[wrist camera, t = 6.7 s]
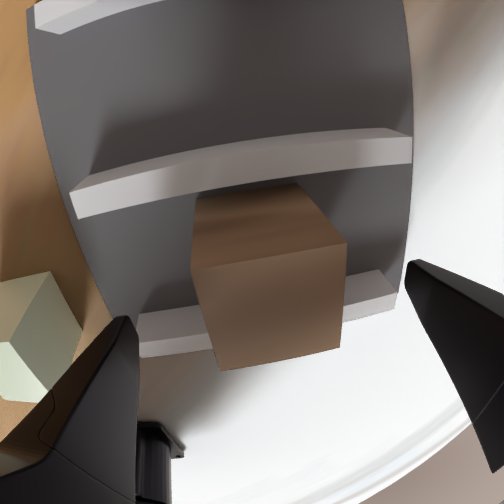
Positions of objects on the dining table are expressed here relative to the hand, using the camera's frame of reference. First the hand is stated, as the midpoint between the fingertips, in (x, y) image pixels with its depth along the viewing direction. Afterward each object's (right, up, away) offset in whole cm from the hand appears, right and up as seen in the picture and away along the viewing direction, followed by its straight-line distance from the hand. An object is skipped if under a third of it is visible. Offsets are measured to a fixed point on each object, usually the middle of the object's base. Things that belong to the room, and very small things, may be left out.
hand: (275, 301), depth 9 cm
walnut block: (-1, +2, +4) cm, 4 cm away
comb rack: (-1, +5, +2) cm, 6 cm away
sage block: (-12, -1, +5) cm, 13 cm away
